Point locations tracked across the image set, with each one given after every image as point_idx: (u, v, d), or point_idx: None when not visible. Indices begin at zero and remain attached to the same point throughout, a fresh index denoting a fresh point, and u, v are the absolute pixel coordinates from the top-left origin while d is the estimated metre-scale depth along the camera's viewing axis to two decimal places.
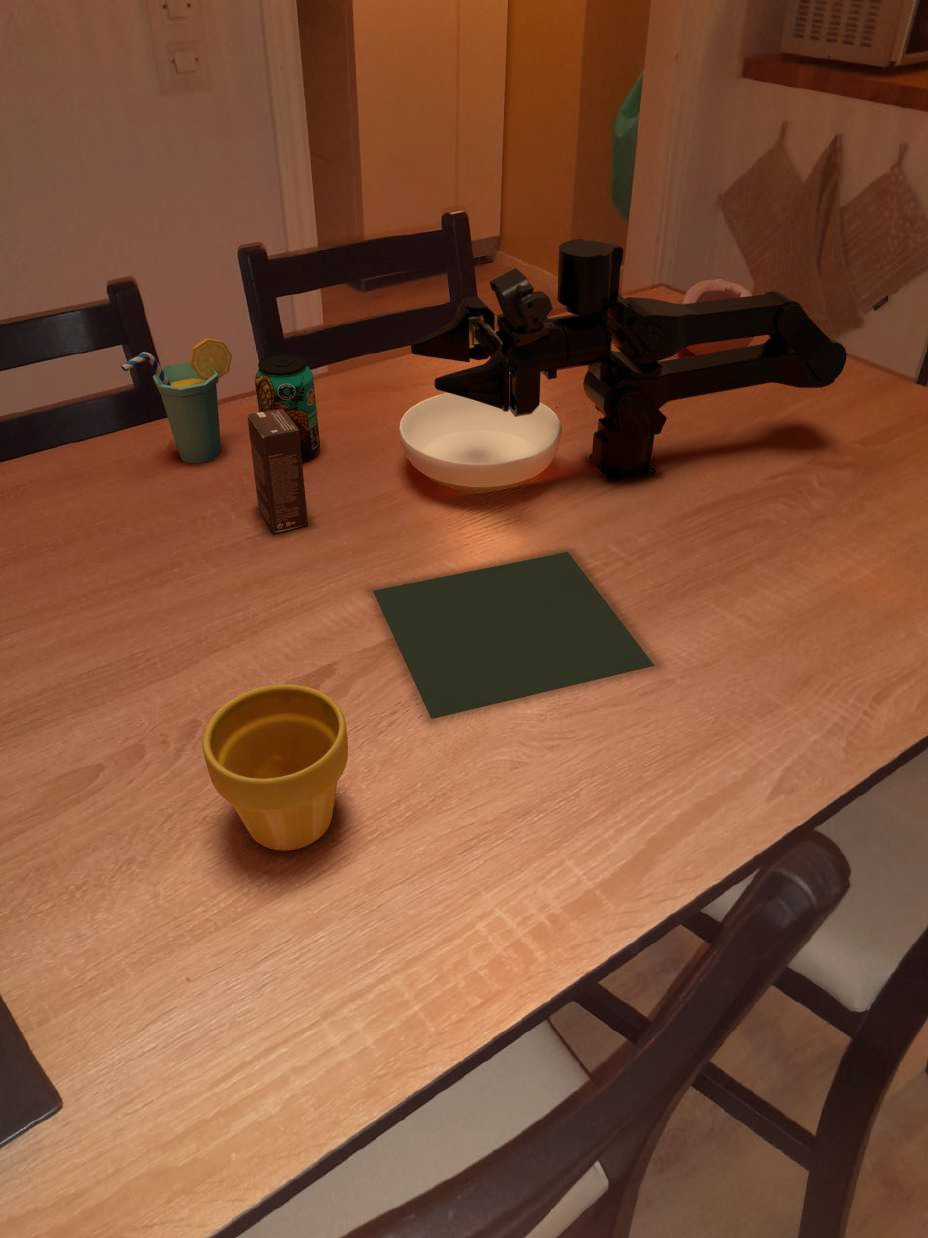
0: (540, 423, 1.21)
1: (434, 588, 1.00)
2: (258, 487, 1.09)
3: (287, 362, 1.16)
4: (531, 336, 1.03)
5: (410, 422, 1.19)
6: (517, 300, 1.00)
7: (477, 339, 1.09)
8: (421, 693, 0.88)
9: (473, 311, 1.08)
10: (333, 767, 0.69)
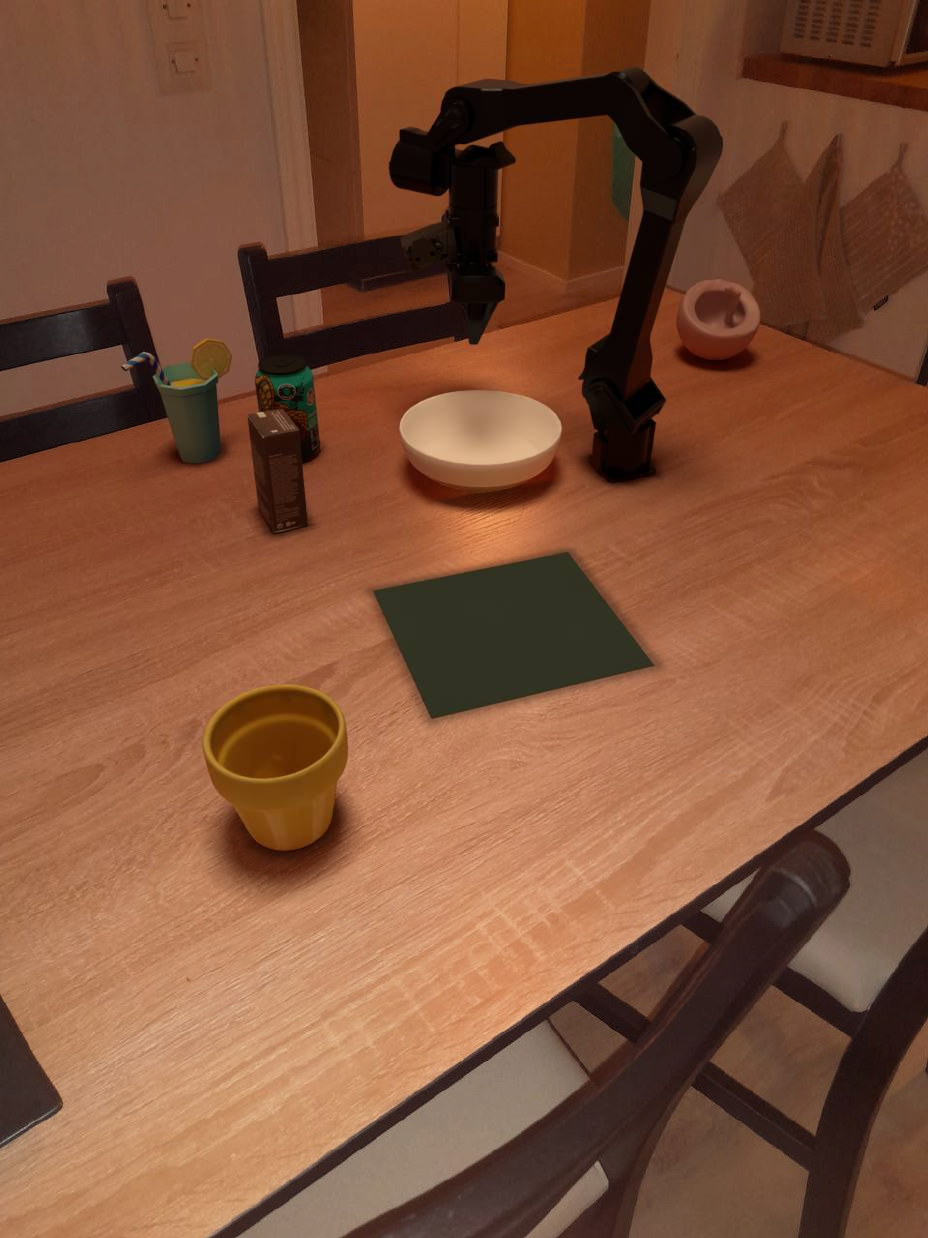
0: (540, 423, 1.21)
1: (434, 588, 1.00)
2: (258, 487, 1.09)
3: (287, 362, 1.16)
4: (451, 248, 1.14)
5: (410, 422, 1.19)
6: None
7: None
8: (421, 693, 0.88)
9: None
10: (333, 767, 0.69)
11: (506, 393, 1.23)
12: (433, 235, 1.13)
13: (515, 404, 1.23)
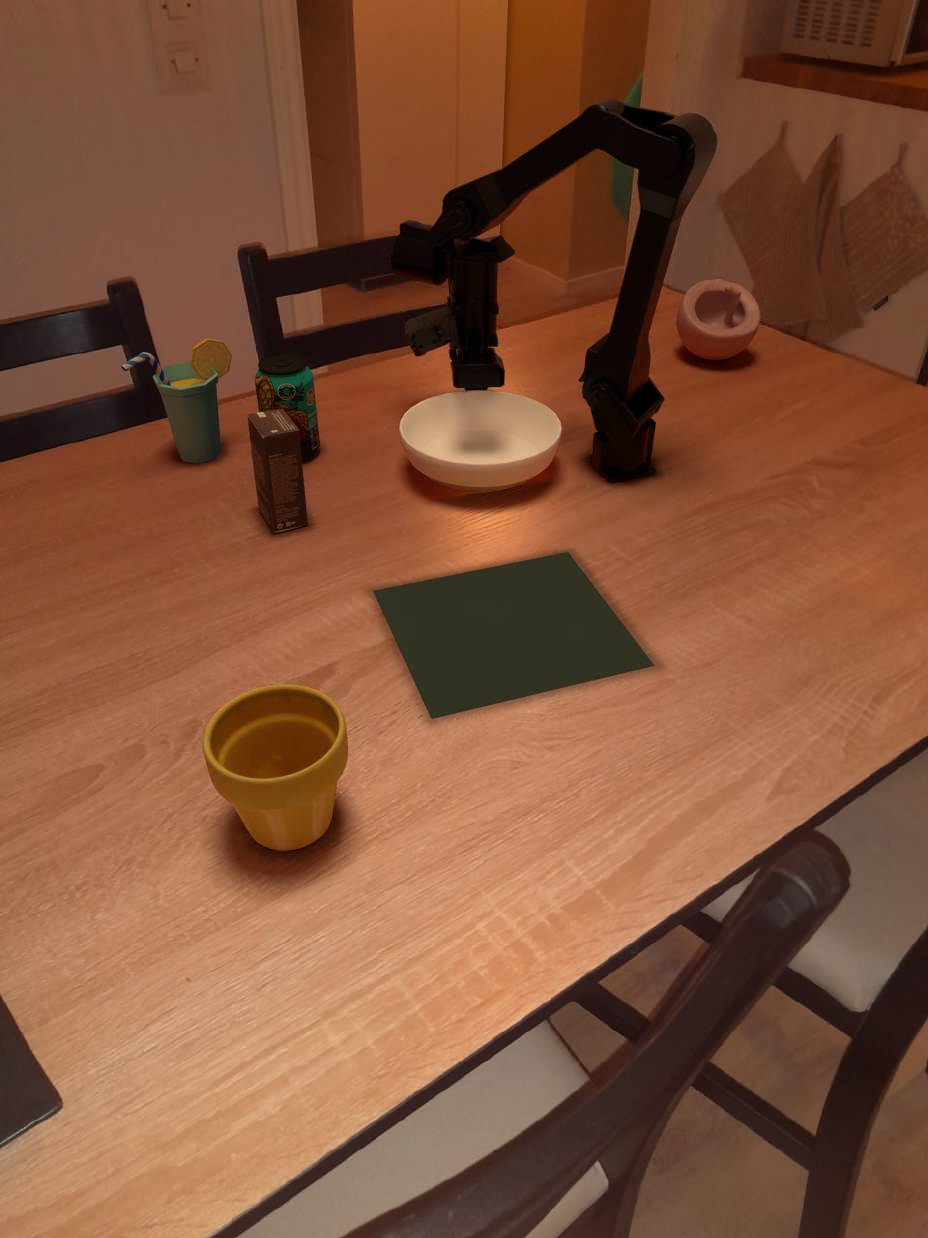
0: (540, 423, 1.21)
1: (434, 588, 1.00)
2: (258, 487, 1.09)
3: (287, 362, 1.16)
4: (453, 335, 1.18)
5: (410, 422, 1.19)
6: None
7: None
8: (421, 693, 0.88)
9: None
10: (333, 767, 0.69)
11: (506, 393, 1.23)
12: (436, 323, 1.18)
13: (515, 404, 1.23)
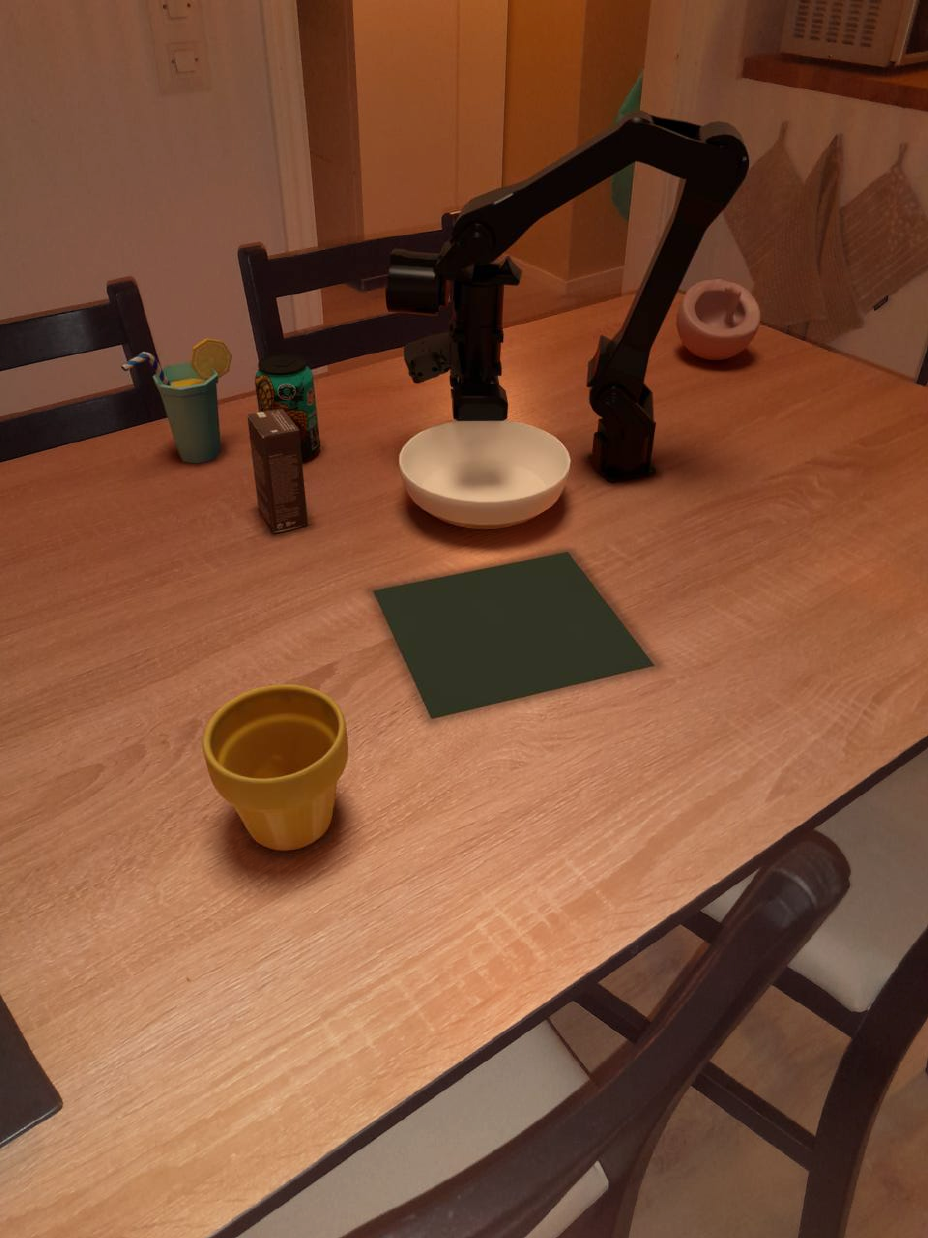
0: (546, 453, 1.15)
1: (434, 588, 1.00)
2: (258, 487, 1.09)
3: (287, 362, 1.16)
4: (454, 363, 1.12)
5: (409, 455, 1.13)
6: (419, 375, 1.12)
7: None
8: (421, 693, 0.88)
9: None
10: (333, 767, 0.69)
11: (509, 422, 1.17)
12: (437, 349, 1.11)
13: (518, 433, 1.17)
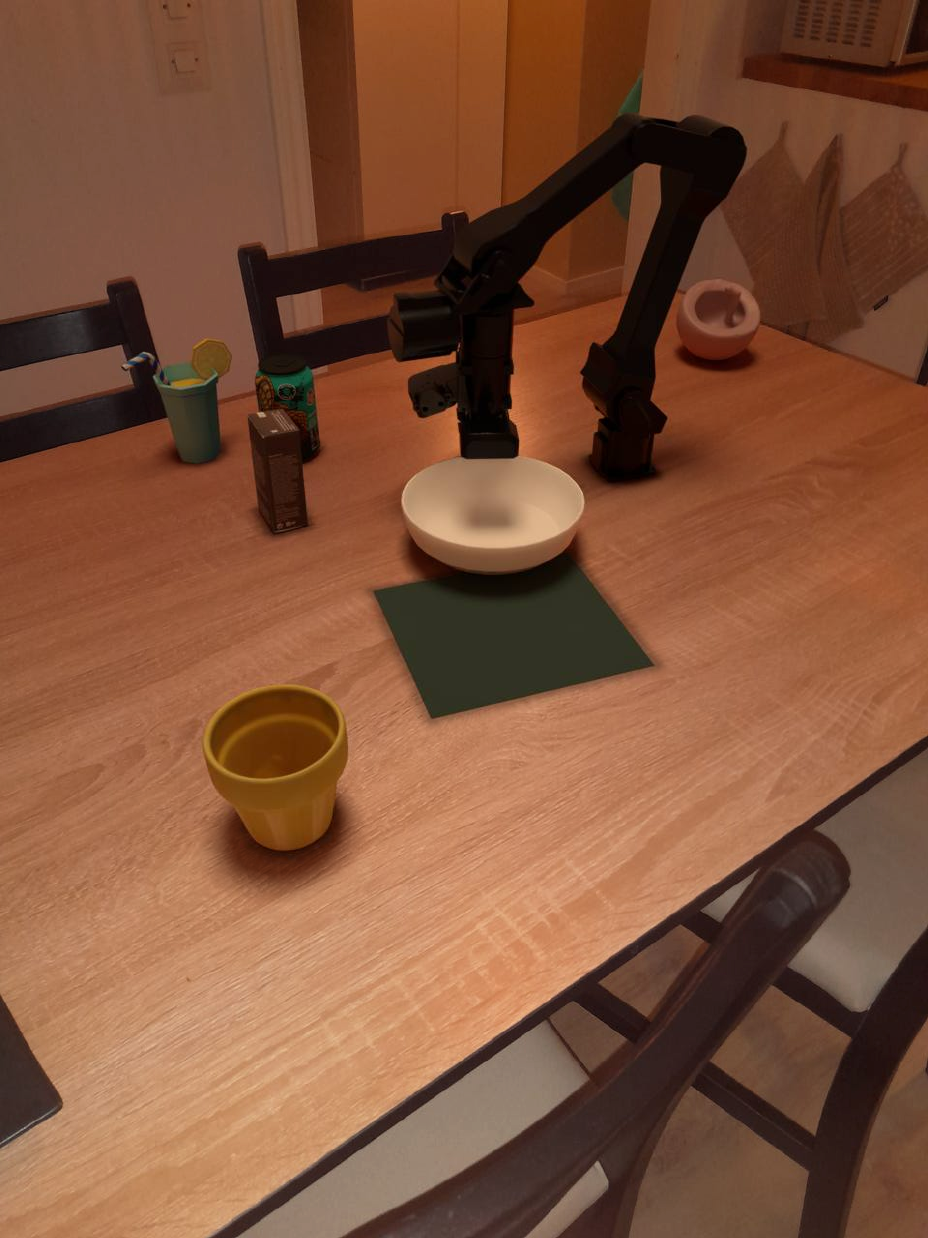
0: (558, 492, 1.08)
1: (434, 588, 1.00)
2: (258, 487, 1.09)
3: (287, 362, 1.16)
4: (461, 396, 1.05)
5: (412, 492, 1.06)
6: None
7: None
8: (421, 693, 0.88)
9: None
10: (333, 767, 0.69)
11: (519, 457, 1.10)
12: (443, 382, 1.04)
13: (529, 469, 1.10)
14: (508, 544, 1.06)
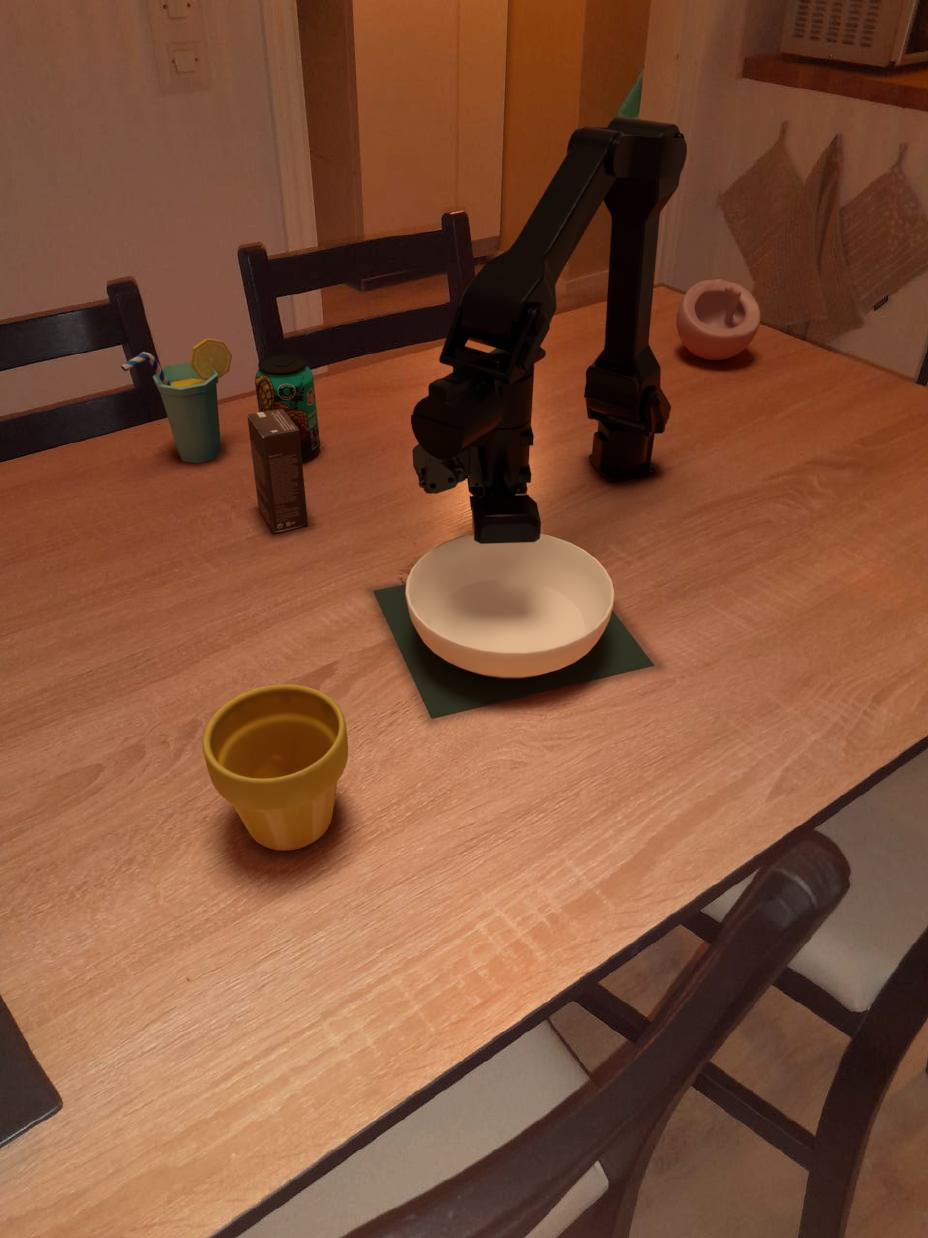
0: (583, 576, 0.95)
1: None
2: (258, 487, 1.09)
3: (287, 362, 1.16)
4: (474, 470, 0.92)
5: (418, 577, 0.94)
6: (431, 485, 0.93)
7: None
8: (421, 693, 0.88)
9: None
10: (333, 767, 0.69)
11: None
12: None
13: (551, 548, 0.97)
14: (526, 637, 0.93)
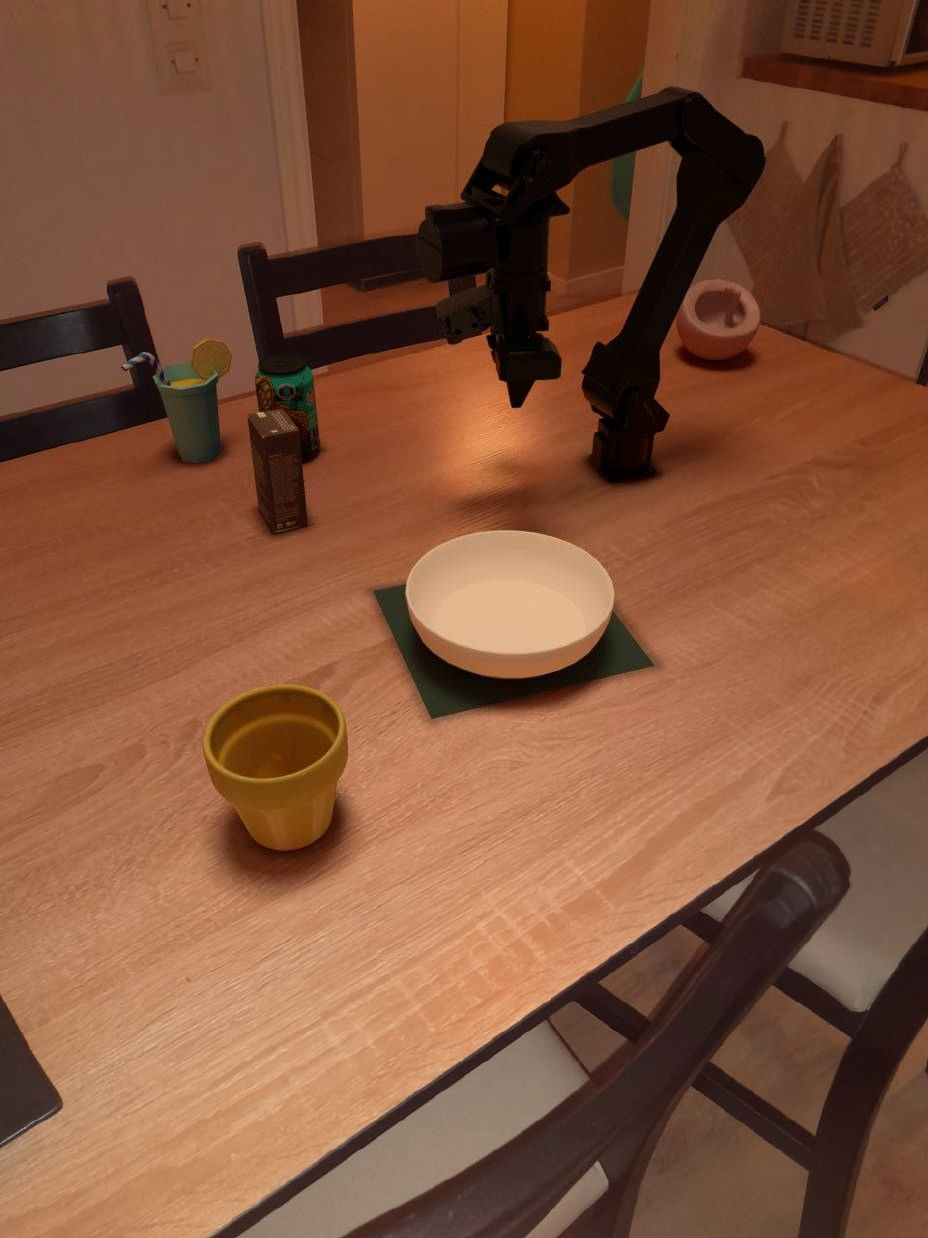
0: (584, 576, 0.95)
1: None
2: (258, 487, 1.09)
3: (287, 362, 1.16)
4: (496, 317, 0.98)
5: (418, 578, 0.93)
6: None
7: None
8: (421, 693, 0.88)
9: None
10: (333, 767, 0.69)
11: (539, 535, 0.97)
12: (475, 303, 0.97)
13: (551, 549, 0.97)
14: (526, 638, 0.93)
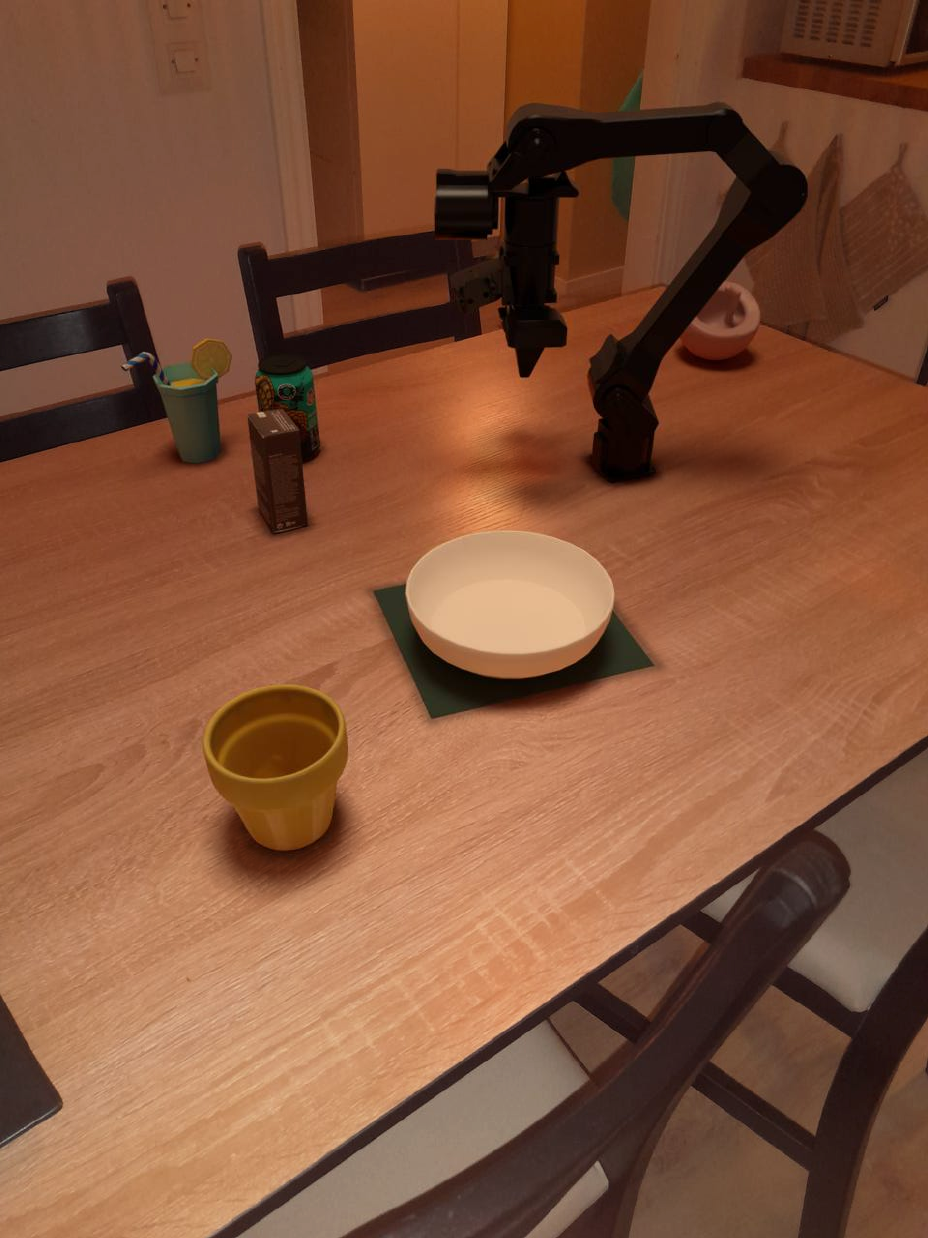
0: (584, 577, 0.95)
1: None
2: (258, 487, 1.09)
3: (287, 362, 1.16)
4: (506, 288, 1.03)
5: (418, 578, 0.93)
6: None
7: None
8: (421, 693, 0.88)
9: None
10: (333, 767, 0.69)
11: (539, 535, 0.97)
12: (487, 274, 1.03)
13: (551, 549, 0.97)
14: (526, 638, 0.93)
